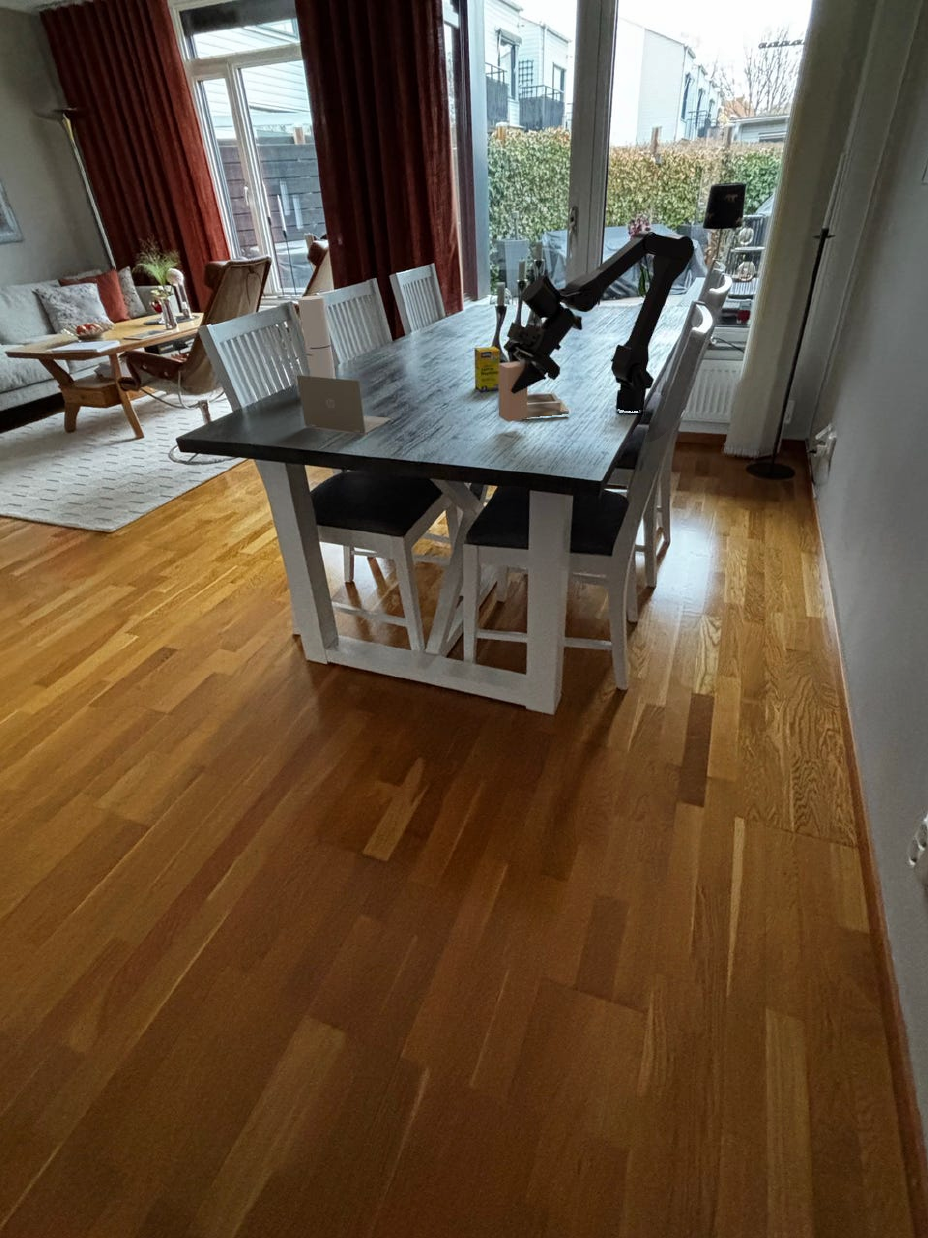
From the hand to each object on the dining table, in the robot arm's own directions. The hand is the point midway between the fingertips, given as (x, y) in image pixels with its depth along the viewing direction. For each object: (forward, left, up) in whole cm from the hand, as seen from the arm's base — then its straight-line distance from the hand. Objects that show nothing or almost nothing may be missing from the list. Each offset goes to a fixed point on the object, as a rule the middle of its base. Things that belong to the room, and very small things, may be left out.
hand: (507, 389), depth 147 cm
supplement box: (+11, -37, -10) cm, 40 cm away
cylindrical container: (+59, -32, -10) cm, 68 cm away
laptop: (+41, -2, -10) cm, 42 cm away
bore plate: (-6, -16, -10) cm, 20 cm away
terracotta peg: (-1, -1, -7) cm, 7 cm away
